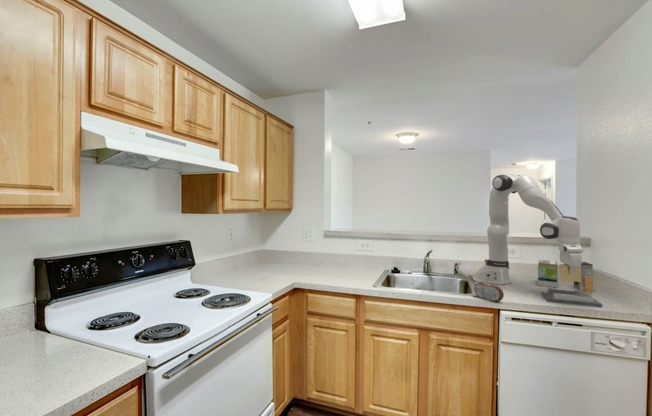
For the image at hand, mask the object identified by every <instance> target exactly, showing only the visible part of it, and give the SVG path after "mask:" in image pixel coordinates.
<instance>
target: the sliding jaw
mask: <svg viewBox="0 0 652 416" xmlns="http://www.w3.org/2000/svg"><path fill="white" fill-rule="evenodd" d="M546 293H559V294H570V295H581V296H592V297H593V292H592V277H587V276H583V291H580V290H577V289H576V290H574V289H566V288H565V289H563V288H554V287H547V288H546Z"/></svg>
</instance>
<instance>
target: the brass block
mask: <svg viewBox="0 0 652 416" xmlns="http://www.w3.org/2000/svg"><path fill="white" fill-rule="evenodd" d="M558 266H559V267H558V269H559V271H558V272H559V273H558V274H559V280H561V281H564V282H574V281H576V282H581V267H580V268H575V271H574V275H571V274H569V271H570V268H569V266H568V265H566V264H564V263H563V264H562V263H559V264H558Z"/></svg>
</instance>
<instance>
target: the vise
mask: <svg viewBox="0 0 652 416" xmlns="http://www.w3.org/2000/svg"><path fill="white" fill-rule="evenodd" d="M540 295H541V296H542V297H543V298H544V300H546V302H548V303H558V304H568V305H577V306H585V307H586V306H587V307H594V308H595V307H597V308H603V304H602V303H601V302H600V301H598V300H596V298H594V297H593V295H592V296H581V295H570V294H559V293H548V292H547V291H541V292H540Z"/></svg>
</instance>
